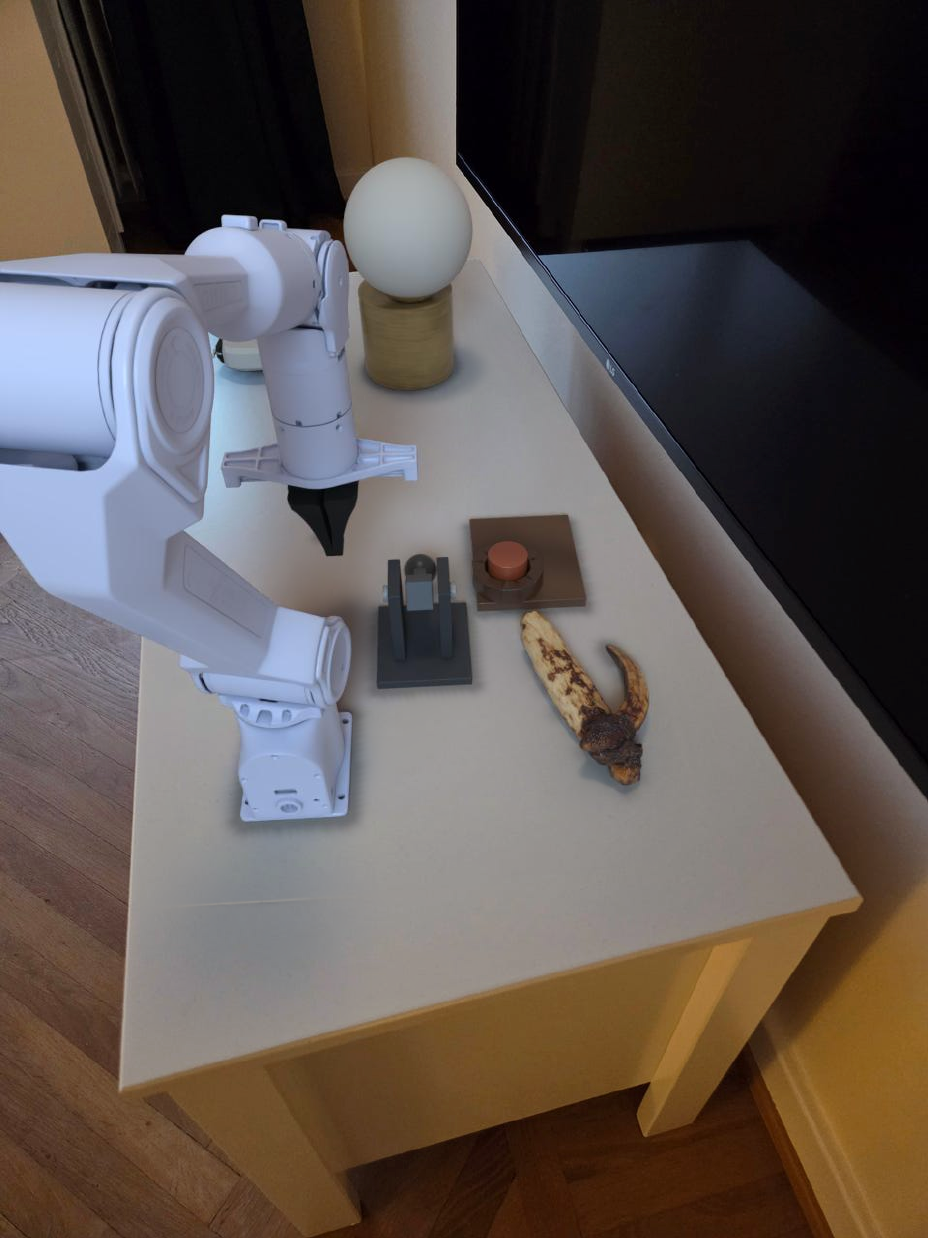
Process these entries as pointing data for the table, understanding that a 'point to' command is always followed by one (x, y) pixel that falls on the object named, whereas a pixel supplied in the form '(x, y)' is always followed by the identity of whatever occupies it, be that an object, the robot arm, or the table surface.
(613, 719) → the lashed bone hook
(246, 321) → the robot arm
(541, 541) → the control block
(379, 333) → the lamp
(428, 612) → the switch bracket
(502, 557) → the warm button
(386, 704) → the table surface
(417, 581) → the switch lever
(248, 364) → the robot toy
